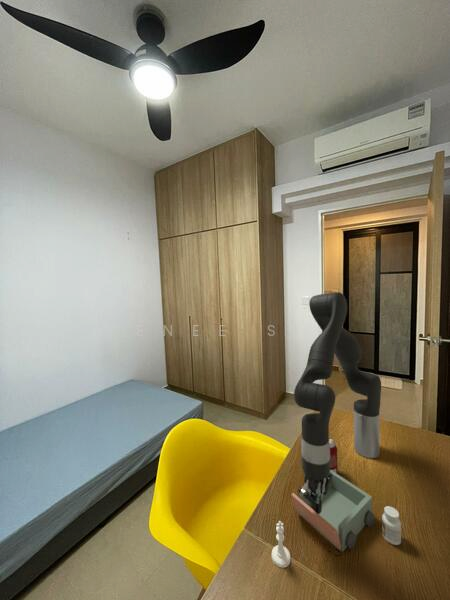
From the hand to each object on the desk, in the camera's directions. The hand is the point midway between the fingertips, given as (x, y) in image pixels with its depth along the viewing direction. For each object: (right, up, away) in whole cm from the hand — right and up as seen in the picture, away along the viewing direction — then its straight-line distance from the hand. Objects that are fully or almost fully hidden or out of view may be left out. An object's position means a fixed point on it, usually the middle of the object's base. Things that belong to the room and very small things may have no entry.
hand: (316, 511), depth 70 cm
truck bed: (+8, -6, +6) cm, 11 cm away
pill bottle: (+20, -6, -2) cm, 21 cm away
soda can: (+12, -5, +22) cm, 26 cm away
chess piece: (-11, -8, -5) cm, 15 cm away
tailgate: (0, -5, +1) cm, 5 cm away
